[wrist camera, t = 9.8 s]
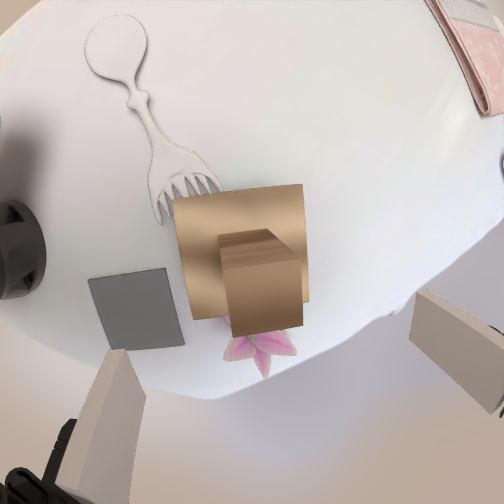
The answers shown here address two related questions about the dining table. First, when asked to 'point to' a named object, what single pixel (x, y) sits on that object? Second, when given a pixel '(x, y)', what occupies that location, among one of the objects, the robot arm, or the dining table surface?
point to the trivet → (137, 310)
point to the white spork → (144, 109)
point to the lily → (259, 348)
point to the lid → (245, 256)
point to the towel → (475, 49)
